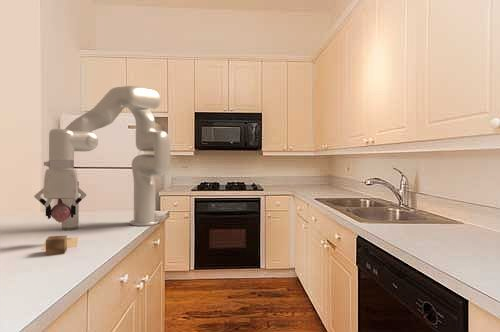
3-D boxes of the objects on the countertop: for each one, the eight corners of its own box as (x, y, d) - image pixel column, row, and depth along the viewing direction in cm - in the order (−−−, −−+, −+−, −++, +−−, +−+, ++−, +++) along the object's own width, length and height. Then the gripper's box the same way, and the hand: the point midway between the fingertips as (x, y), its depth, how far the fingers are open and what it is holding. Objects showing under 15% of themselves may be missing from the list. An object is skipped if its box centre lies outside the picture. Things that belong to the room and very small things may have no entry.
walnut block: (66, 250, 108) (66, 235, 107) (64, 255, 103) (64, 238, 103) (48, 252, 106) (48, 236, 106) (45, 256, 101) (45, 240, 101)
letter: (77, 237, 125) (77, 237, 125) (77, 247, 111) (77, 246, 111) (46, 240, 120) (46, 239, 120) (41, 250, 107) (41, 249, 107)
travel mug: (82, 227, 144) (82, 180, 143) (72, 230, 137) (72, 181, 137) (68, 226, 144) (68, 180, 144) (58, 229, 138) (58, 181, 138)
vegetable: (47, 223, 115) (48, 194, 115) (67, 221, 120) (67, 193, 120) (53, 225, 111) (54, 195, 111) (73, 223, 116) (73, 194, 116)
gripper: (30, 165, 108) (29, 221, 108) (89, 165, 116) (88, 217, 116) (33, 164, 115) (32, 217, 115) (89, 165, 122) (88, 214, 123)
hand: (60, 217), depth 115 cm, fingers closed on vegetable, 6 cm apart
